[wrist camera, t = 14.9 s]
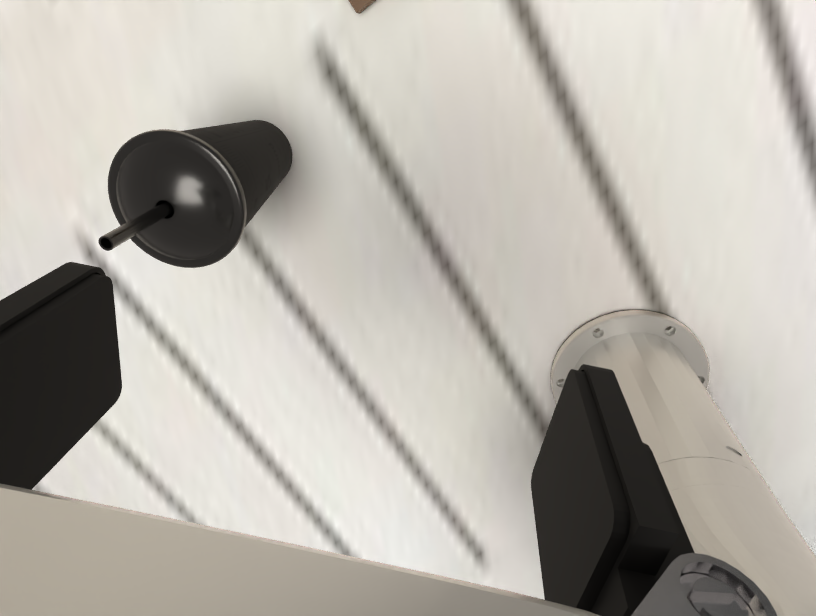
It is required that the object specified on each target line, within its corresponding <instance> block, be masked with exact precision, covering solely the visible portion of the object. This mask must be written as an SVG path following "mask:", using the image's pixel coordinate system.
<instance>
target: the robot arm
mask: <svg viewBox="0 0 816 616" xmlns="http://www.w3.org/2000/svg"><path fill="white" fill-rule="evenodd" d="M667 327H668V328H667ZM598 328H599V329H598ZM595 329H598V330H595ZM709 372H710V369H709V362H708V357H707V355H706V352H705V350H704V348H703V346H702V344H701V343H700V341H699V340H698V339H697V337H696V336H695V335H694V334H693V333H692V332H691V331H690V329H689V328H688V327H686V326H685V325H683V324H682V323H680V322H679V321H678V320H676V319H674V318H671V317H669V316H667V315H664V314H661V313H657V312H652V311H645V310H628V311H619V312H614V313H611V314H607V315H604V316H601V317H599V318H596V319H594V320H592V321H590V322H588V323H586V324H585V325H583V326H582V327H581V328H579V329H578V330H576V331H575V332H574V333H573V334H572V335H571V336H570V337H569V338H568V339H567V340H566V341H565V342H564V344H563V345H562V346H561V348H560V349H559V351H558V353H557V355H556V357H555V360H554V362H553V366H552V371H551V387H552V391H553V397H554V399H555V402H556V404H557V405H556V408H555V411H554V414H553V416H552V419H551V422H550V425H549V427H548V430H547V433H546V436H545V439H544V441H543V444H542V447H541V450H540V452H539V455H538V458H537V461H536V463H535V466H534V469H533V473H532V480H531V490H532V498H533V506H534V514H535V522H536V531H537V539H538V547H539V555H540V563H541V571H542V580H543V588H544V596H545V600H543V599H539V598H535V597H531V596H527V595H523V594H519V593H515V592H511V591H507V590H503V589H498V588H493V587H489V586H484V585H479V584H474V583H470V582H466V581H461V580H457V579H453V578H448V577H444V576H440V575H435V574H430V573H426V572H421V571H416V570H412V569H407V568H402V567H398V566H393V565H388V564H384V563H379V562H374V561H370V560H365V559H361V558H356V557H351V556H347V555H342V554H337V553H333V552H328V551H323V550H319V549H314V548H309V547H305V546H300V545H295V544H291V543H286V542H281V541H276V540H272V539H267V538H262V537H257V536H253V535H248V534H243V533H238V532H234V531H229V530H224V529H219V528H214V527H210V526H205V525H200V524H195V523H191V522H186V521H181V520H176V519H171V518H166V517H162V516H157V515H152V514H147V513H142V512H138V511H133V510H128V509H123V508H118V507H113V506H109V505H104V504H99V503H94V502H89V501H84V500H79V499H74V498H69V497H64V496H59V495H54V494H49V493H44V492H40V491H35V490H32V489H33V487H34V486H35V485H36V484H37V483H38V482H39V481H40V480H41V479H42V478H43V477H44V476H45V475H46V474H47V473H48V472H49V471H50V470H51V469H52V468H53V467H54V466H55V465H56V464H57V463H58V462H59V461H60V460H61V459H62V458H63V456H64V455H65V454H66V453H67V452H68V451H69V450H70V449H71V448H72V447H73V446H74V445H75V444H76V443H77V442H78V441H79V440H80V439H81V438H82V437H83V436H84V435H85V434H86V433H87V432H88V431H89V430H90V429H91V428H92V427H93V425H94V424H95V423H96V422H97V421H98V420H99V419H100V418H101V417H102V416H103V415H104V414H105V413H106V412H107V411H108V410H109V409H110V408H111V407H112V406H113V405H114V404H115V403H116V401H117V400H118V398H119V396H120V393H121V389H122V380H121V369H120V359H119V348H118V337H117V326H116V316H115V305H114V294H113V284H112V281H111V279H110V278H109V277H108V276H106V275H105V273H104V271H103V270H102V269H101V268H99V267H94V266H89V265H84V264H79V263H74V262H69V263H66V264H64V265H62V266H60V267H59V268H57V269H55V270H53V271H52V272H50V273H48V274H46V275H45V276H43V277H41V278H39V279H37V280H36V281H34V282H32V283H30V284H29V285H27V286H25V287H23V288H22V289H20V290H18V291H16V292H15V293H13V294H11V295H9V296H8V297H6V298H4V299H2V300H1V301H0V616H816V556H815V555H814V553H813V552H812V550H811V549H810V547H809V546H808V545H807V543H806V542H805V540H804V539H803V537H802V536H801V535H800V533H799V532H798V530H797V529H796V527H795V526H794V525H793V523H792V522H791V520H790V519H789V517H788V516H787V514H786V513H785V511H784V510H783V508H782V507H781V505H780V504H779V502H778V501H777V499H776V498H775V496H774V495H773V493H772V491H771V490H770V488H769V487H768V485H767V484H766V482H765V481H764V479H763V477H762V476H761V474H760V473H759V471H758V470H757V468H756V467H755V465H754V463H753V462H752V460H751V459H750V457H749V456H748V454H747V453H746V451H745V449H744V448H743V446H742V445H741V443H740V442H739V440H738V439H737V437H736V435H735V434H734V432H733V431H732V429H731V428H730V426H729V425H728V423H727V421H726V420H725V418H724V417H723V415H722V414H721V412H720V411H719V409H718V407H717V406H716V404H715V403H714V401H713V400H712V398H711V397H710V395H709V393H708V392H707V390H706V388H707V385H708V381H709Z"/></svg>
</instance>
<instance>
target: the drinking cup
mask: <svg viewBox="0 0 816 616" xmlns="http://www.w3.org/2000/svg"><path fill="white" fill-rule="evenodd" d="M291 163H292V151H291V147H290V144H289V142H288V140H287V138H286V136H285V135H284V134H283V133H282V131H281V130H280V129H278V128H277V127H276V126H274V125H273V124H271V123H268V122H265V121H261V120H253V121H246V122H239V123H233V124H226V125H219V126H213V127H206V128H199V129H193V130H186V131H176V130H169V129H159V130H152V131H148V132H144V133H142V134H139V135H137V136H135V137H133V138H131V139H130V140H128V141H127V142H126V143H125V144H124V145H123V146H122V147H121V148H120V149H119V151H118V152H117V153H116V155H115V157H114V159H113V161H112V164H111V167H110V171H109V176H108V193H109V199H110V203H111V206H112V209H113V212H114V214H115V216H116V218H117V220H118V222H119V224H120V227H118V228H116V229H114V230H113V231H111V232H109V233H107V234H105V235H104V236H102V237H100V238H99V245H100V246H101V248H103V249H104V250H107V251H109V250H112V249H113V248H115V247H117V246H118V245H120V244H122V243H123V242H125V241H127V240H128V239H131V240H132V241H133V242H134V243H135V244H136V245H137V246H138V247H140V248H141V249H142V250H143V251H145V252H146V253H147V254H149V255H151V256H152V257H154V258H156V259H158V260H160V261H162V262H165V263H167V264H170V265H174V266H178V267H186V268H196V267H204V266H207V265H211V264H213V263H216V262H218V261H220V260H221V259H223V258H224V257H225V256H227V255H228V254H229V253H230V252H231V251H232V250H233V249H234V248H235V246H236V245H237V244H238V242H239V240H240V239H241V237H242V234H243V232H244V228H245V226H246V225H247V224H248V223H249V221H250V220H251V219H252V218H253V216H254V215H255V214H256V213H257V211H258V210H259V209H260V207H261V206H262V205H263V204H264V202H265V201H266V200H267V199H268V197H269V196H270V195H271V194H272V192H273V191H274V190H275V189H276V187H277V186H278V185H279V183H280V182H281V181H282V180H283V178H284V177H285V176H286V175H287V173H288V171H289V169H290V167H291Z"/></svg>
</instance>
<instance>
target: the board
mask: <svg viewBox="0 0 816 616" xmlns="http://www.w3.org/2000/svg"><path fill="white" fill-rule="evenodd" d="M374 1H375V0H349V2H350V3H351V5H352V6H353V8H354V9H355V11H356V13H361V12H362V11H364V10H365V9H366V8H367V7H368V6H369V5H371V4H372V3H373V2H374Z"/></svg>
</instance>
